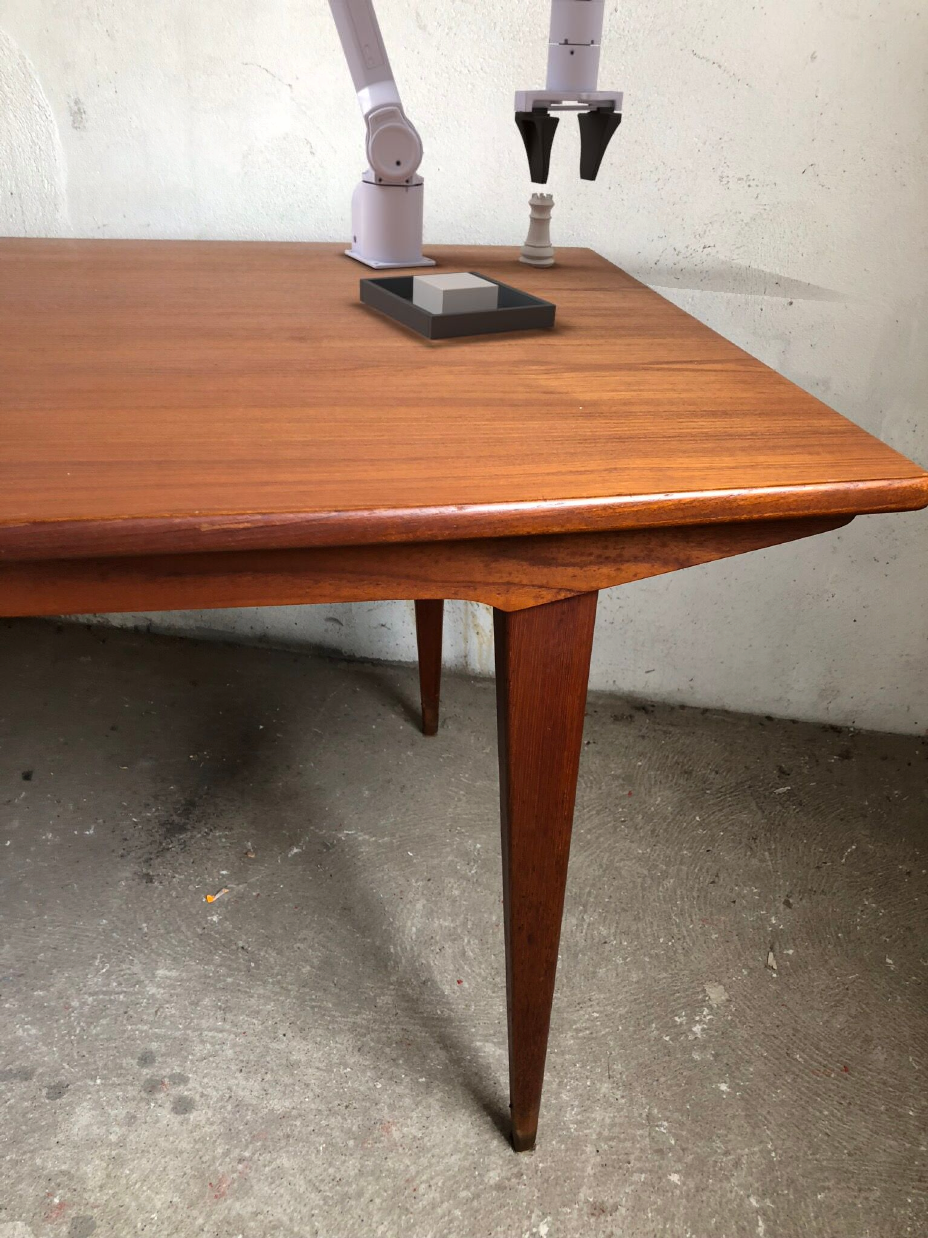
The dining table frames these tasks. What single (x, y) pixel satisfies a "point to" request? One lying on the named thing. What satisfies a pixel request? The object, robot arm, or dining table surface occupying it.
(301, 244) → the dining table surface
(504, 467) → the dining table surface
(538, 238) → the rook chess piece
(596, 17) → the robot arm
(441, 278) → the grey block
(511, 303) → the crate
